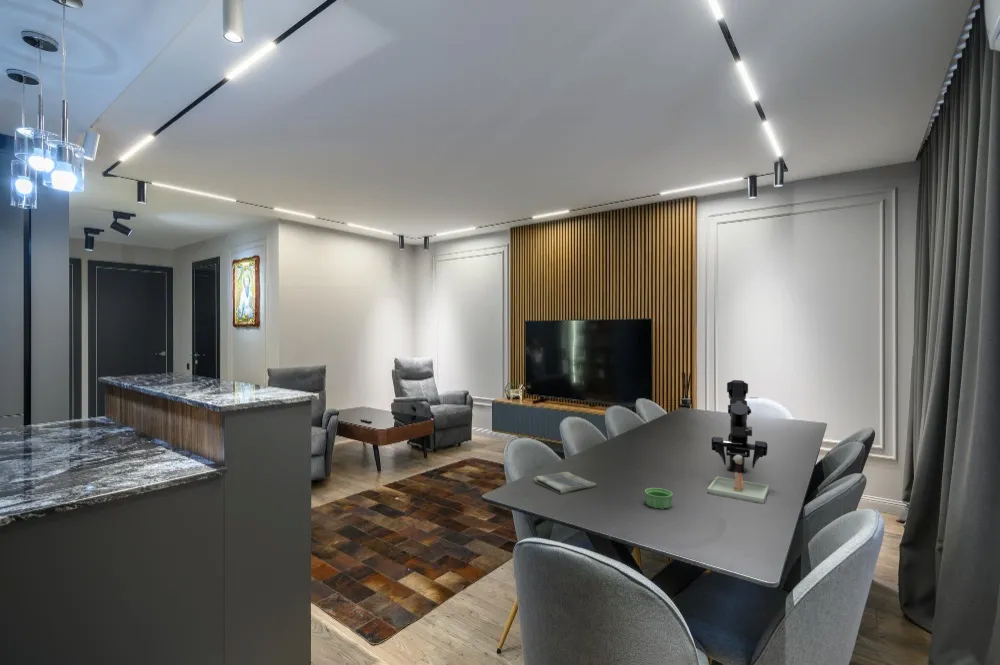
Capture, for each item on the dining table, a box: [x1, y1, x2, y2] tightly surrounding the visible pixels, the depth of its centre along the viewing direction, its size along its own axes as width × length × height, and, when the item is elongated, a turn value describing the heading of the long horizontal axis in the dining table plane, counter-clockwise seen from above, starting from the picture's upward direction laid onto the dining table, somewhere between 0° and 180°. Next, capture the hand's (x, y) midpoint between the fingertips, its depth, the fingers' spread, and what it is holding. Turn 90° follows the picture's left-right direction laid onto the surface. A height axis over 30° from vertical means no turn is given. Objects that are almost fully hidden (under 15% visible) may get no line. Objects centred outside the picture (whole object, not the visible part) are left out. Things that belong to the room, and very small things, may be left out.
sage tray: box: [706, 476, 770, 505], centre depth 176 cm, size 18×18×2 cm
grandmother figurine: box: [733, 455, 744, 492], centre depth 176 cm, size 8×4×13 cm, turn 160°
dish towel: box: [532, 471, 597, 495], centre depth 183 cm, size 19×18×3 cm
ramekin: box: [644, 487, 674, 510], centre depth 162 cm, size 9×9×4 cm
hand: (738, 466), depth 176 cm, fingers open, 9 cm apart
